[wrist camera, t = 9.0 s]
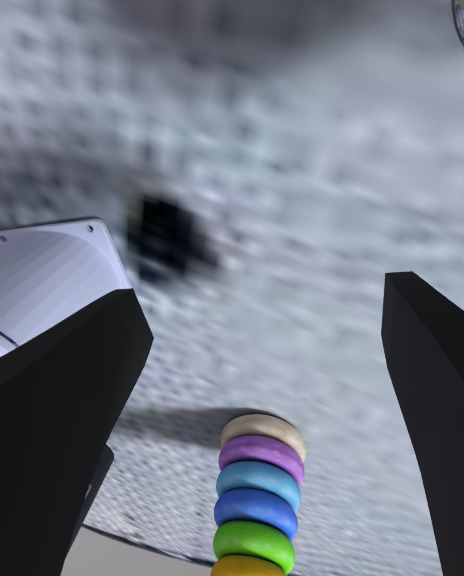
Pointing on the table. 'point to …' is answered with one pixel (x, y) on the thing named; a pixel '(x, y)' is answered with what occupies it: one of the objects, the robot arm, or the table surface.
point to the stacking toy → (257, 496)
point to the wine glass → (459, 16)
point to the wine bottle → (93, 488)
